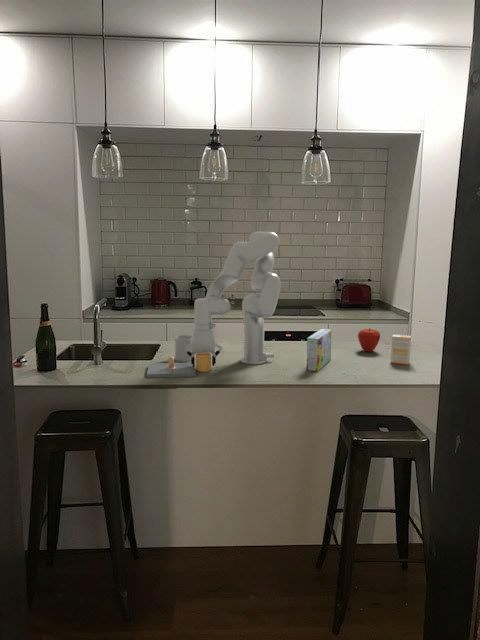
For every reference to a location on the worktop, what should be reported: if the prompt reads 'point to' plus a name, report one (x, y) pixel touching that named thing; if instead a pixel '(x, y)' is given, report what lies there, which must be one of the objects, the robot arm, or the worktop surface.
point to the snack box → (318, 349)
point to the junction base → (170, 369)
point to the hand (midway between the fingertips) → (203, 365)
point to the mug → (182, 348)
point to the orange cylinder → (203, 361)
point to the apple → (368, 339)
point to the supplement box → (400, 349)
